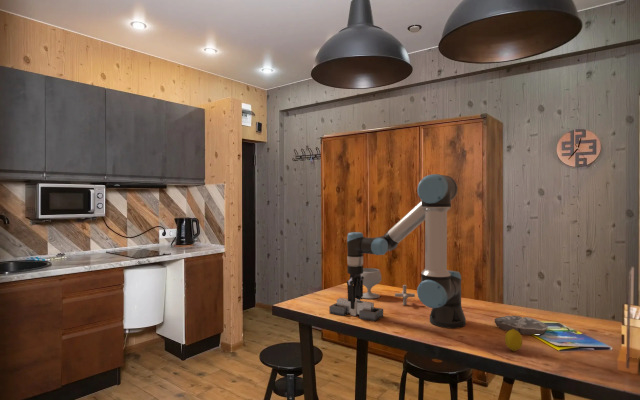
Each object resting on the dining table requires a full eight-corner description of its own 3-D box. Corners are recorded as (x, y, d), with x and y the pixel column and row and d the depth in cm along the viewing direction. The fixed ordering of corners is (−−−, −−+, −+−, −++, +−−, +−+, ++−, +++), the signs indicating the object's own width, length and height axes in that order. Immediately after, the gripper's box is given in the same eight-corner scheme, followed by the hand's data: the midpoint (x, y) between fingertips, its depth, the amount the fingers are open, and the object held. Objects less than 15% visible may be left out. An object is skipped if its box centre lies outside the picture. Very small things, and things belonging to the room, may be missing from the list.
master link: (373, 314, 177) (373, 302, 177) (370, 316, 174) (370, 304, 174) (340, 308, 187) (340, 297, 187) (336, 310, 184) (336, 299, 184)
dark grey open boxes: (383, 316, 178) (383, 308, 178) (375, 321, 170) (375, 313, 170) (338, 308, 190) (338, 301, 190) (329, 313, 183) (329, 306, 183)
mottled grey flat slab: (548, 327, 161) (548, 320, 161) (546, 340, 146) (546, 332, 146) (498, 319, 171) (498, 313, 171) (491, 330, 157) (491, 323, 157)
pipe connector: (413, 302, 201) (413, 283, 201) (416, 307, 191) (415, 287, 191) (394, 301, 202) (393, 283, 202) (396, 307, 192) (395, 287, 192)
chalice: (372, 301, 204) (371, 273, 204) (351, 296, 213) (351, 270, 213) (386, 296, 214) (386, 269, 214) (366, 292, 224) (366, 266, 224)
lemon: (504, 352, 135) (503, 329, 134) (506, 347, 139) (506, 325, 139) (521, 355, 131) (521, 332, 131) (523, 350, 136) (523, 328, 136)
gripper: (356, 261, 189) (356, 308, 189) (339, 266, 175) (340, 317, 175) (369, 263, 185) (370, 310, 185) (354, 268, 171) (354, 320, 171)
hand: (355, 314), depth 180 cm, fingers closed on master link, 4 cm apart
